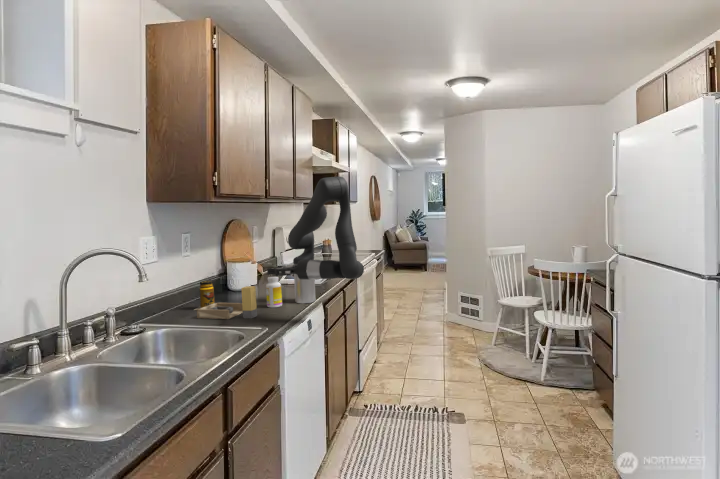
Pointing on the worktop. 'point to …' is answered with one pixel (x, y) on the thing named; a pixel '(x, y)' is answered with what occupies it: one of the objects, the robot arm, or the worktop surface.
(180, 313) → the worktop surface
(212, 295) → the condiment
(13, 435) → the worktop surface
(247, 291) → the yellow upright block
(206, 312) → the walled box
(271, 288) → the supplement bottle
